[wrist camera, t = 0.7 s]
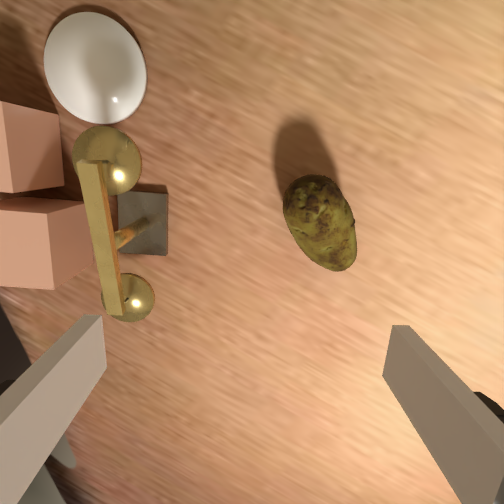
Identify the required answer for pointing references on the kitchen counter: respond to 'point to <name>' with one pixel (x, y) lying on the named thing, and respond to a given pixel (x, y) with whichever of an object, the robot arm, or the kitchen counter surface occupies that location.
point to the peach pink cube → (43, 242)
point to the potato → (321, 221)
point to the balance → (120, 217)
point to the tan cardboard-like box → (29, 149)
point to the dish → (95, 68)
